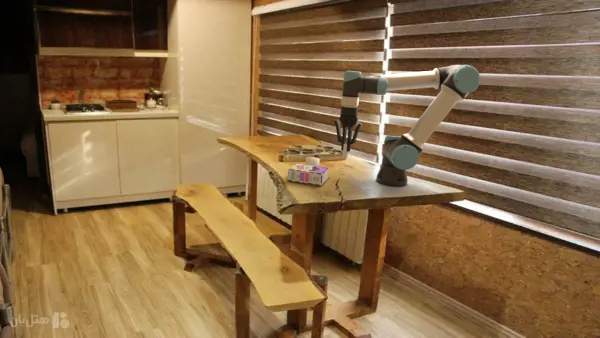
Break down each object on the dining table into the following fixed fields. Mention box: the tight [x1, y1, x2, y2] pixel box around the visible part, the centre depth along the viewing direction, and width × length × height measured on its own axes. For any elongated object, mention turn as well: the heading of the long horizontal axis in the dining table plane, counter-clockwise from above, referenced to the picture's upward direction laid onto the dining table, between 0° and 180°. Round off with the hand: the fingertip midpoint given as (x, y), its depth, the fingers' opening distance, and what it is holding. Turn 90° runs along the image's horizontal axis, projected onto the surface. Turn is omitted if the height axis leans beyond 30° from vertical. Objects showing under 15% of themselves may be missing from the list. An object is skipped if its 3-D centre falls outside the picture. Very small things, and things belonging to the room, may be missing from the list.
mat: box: [291, 176, 330, 187], centre depth 221 cm, size 12×18×1 cm, turn 157°
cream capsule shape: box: [305, 156, 321, 166], centre depth 236 cm, size 7×7×7 cm
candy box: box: [287, 163, 329, 186], centre depth 218 cm, size 14×6×16 cm
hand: (344, 158), depth 211 cm, fingers closed
